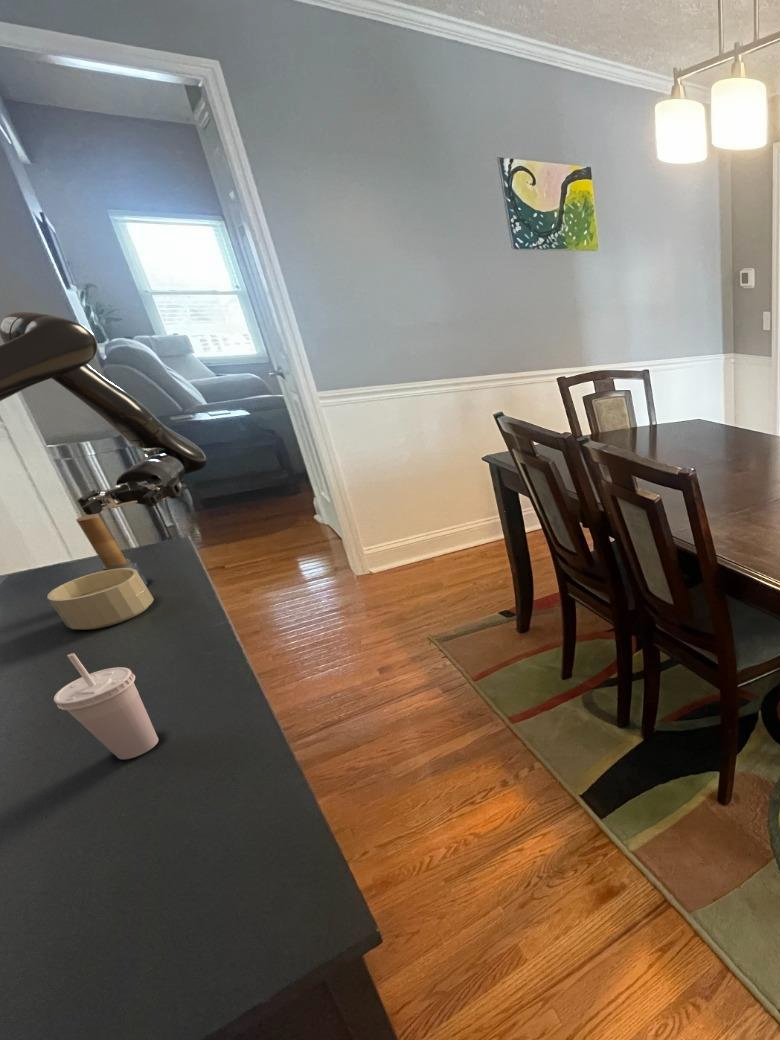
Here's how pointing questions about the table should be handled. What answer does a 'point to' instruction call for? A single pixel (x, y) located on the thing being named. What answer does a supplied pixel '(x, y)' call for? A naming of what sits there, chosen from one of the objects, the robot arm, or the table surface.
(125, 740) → the smoothie
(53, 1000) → the table surface
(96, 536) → the brush
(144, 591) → the bowl
